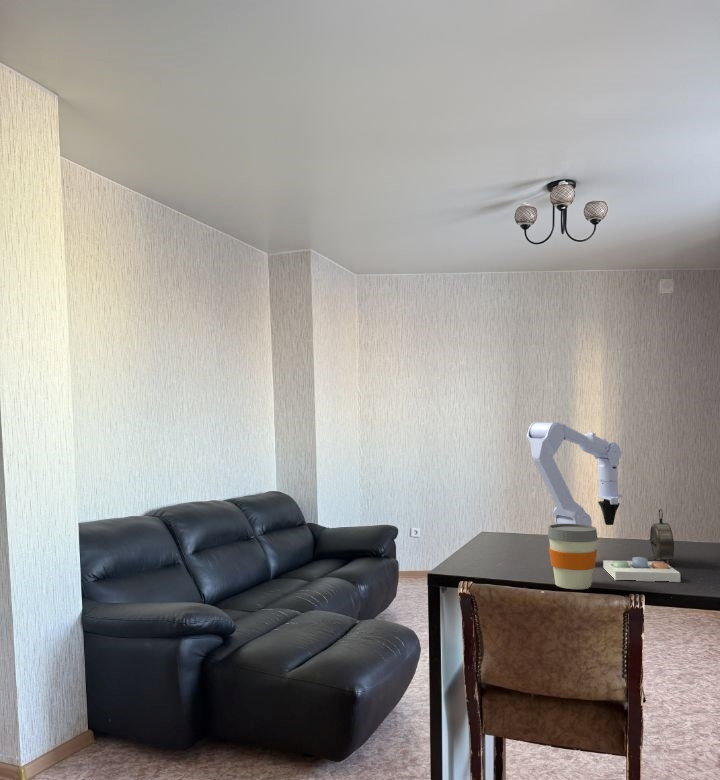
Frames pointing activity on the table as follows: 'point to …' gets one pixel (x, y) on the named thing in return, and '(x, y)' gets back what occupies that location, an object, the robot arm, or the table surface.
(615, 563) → the sage button
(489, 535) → the table surface
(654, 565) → the terracotta button
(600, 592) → the table surface
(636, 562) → the slate button
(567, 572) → the reusable coffee cup
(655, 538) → the alarm clock
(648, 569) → the panel
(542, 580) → the table surface
